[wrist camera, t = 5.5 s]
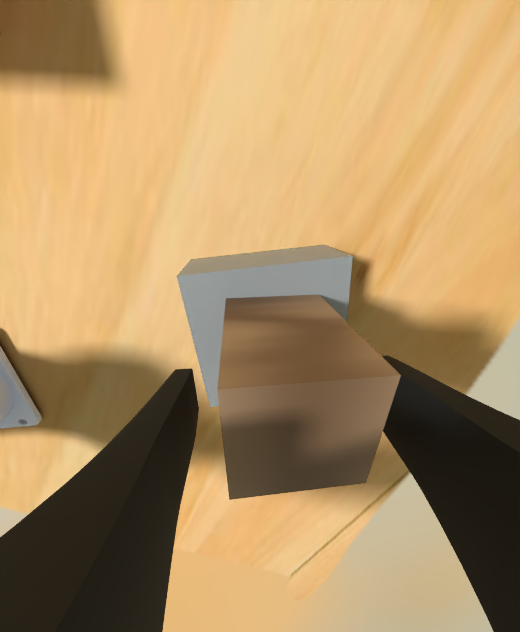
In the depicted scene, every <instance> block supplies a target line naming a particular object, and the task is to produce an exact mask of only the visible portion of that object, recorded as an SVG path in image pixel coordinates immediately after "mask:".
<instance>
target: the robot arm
mask: <svg viewBox="0 0 520 632" xmlns="http://www.w3.org/2000/svg"><path fill="white" fill-rule="evenodd" d="M382 357H383V358H384V359H385V360H386V361H387V362H388V363H389V364H390V365H391V366H392V367H393V368H394V369H395V370H396V371H397V372H398V373H399V374H400V375H401V377H400V380H399V383H398V386H397V389H396V392H395V395H394V398H393V401H392V404H391V407H390V410H389V413H388V417H387V420H386V423H385V426H384V429H383V432H384V433H385V435H386V436H387V438H388V439H389V441H390V442H391V444H392V445H393V447H394V448H395V450H396V451H397V453H398V454H399V456H400V457H401V459H402V460H403V462H404V463H405V465H406V466H407V468H408V469H409V471H410V472H411V474H412V475H413V477H414V479H415V480H416V482H417V483H418V485H419V487H420V488H421V490H422V491H423V493H424V495H425V497H426V499H427V501H428V502H429V504H430V506H431V508H432V510H433V511H434V513H435V515H436V517H437V519H438V520H439V522H440V524H441V526H442V528H443V530H444V532H445V534H446V536H447V538H448V539H449V541H450V543H451V545H452V547H453V549H454V551H455V553H456V555H457V557H458V559H459V561H460V562H461V564H462V566H463V568H464V570H465V572H466V575H467V577H468V579H469V581H470V583H471V585H472V587H473V589H474V591H475V593H476V595H477V597H478V599H479V601H480V603H481V605H482V607H483V610H484V612H485V614H486V616H487V618H488V620H489V622H490V624H491V627H492V629H493V631H494V632H520V420H518V419H516V418H513V417H511V416H509V415H506V414H504V413H502V412H500V411H498V410H496V409H494V408H491V407H489V406H487V405H485V404H483V403H481V402H479V401H477V400H474V399H472V398H471V397H468V396H467V395H464V394H462V393H460V392H458V391H456V390H455V389H453V388H451V387H449V386H447V385H445V384H443V383H441V382H439V381H437V380H435V379H433V378H431V377H429V376H428V375H426V374H424V373H422V372H420V371H418V370H416V369H414V368H412V367H410V366H408V365H406V364H404V363H402V362H400V361H398V360H396V359H394V358H392V357H390V356H382ZM198 410H199V407H198V401H197V395H196V389H195V383H194V377H193V370H192V369H177V370H175V371H174V372H173V373H172V374H171V375H170V376H169V378H168V379H167V380H166V381H165V382H164V384H163V385H162V386H161V387H160V388H159V390H158V391H157V392H156V393H155V394H154V395H153V397H152V398H151V399H150V400H149V401H148V402H147V403H146V404H145V406H144V407H143V408H142V409H141V410H140V411H139V412H138V413H137V415H136V416H135V417H134V418H133V419H132V420H131V421H130V422H129V423H128V424H127V425H126V426H125V427H124V428H123V429H122V430H121V431H120V432H119V433H118V434H117V436H116V437H115V438H114V439H113V440H112V441H111V442H110V443H109V444H108V445H107V446H106V447H105V448H104V449H103V450H102V451H100V452H99V453H98V454H97V455H96V456H95V457H94V458H93V459H92V460H91V461H90V462H89V463H88V464H87V465H86V466H85V467H83V468H82V469H81V470H80V471H79V472H78V473H77V474H76V475H75V476H74V477H72V478H71V479H70V480H69V481H68V482H67V483H66V484H64V485H63V486H62V487H61V488H60V489H59V490H57V491H56V492H55V493H54V494H53V495H51V496H50V497H49V498H48V499H47V500H45V501H44V502H43V503H42V504H41V505H39V506H38V507H37V508H36V509H35V510H33V511H32V512H31V513H30V514H29V515H27V516H26V517H25V518H24V519H23V520H21V522H19V523H18V524H17V525H15V526H14V527H13V528H12V529H10V530H9V531H8V532H7V533H5V534H4V535H3V536H2V537H0V632H162V630H163V622H164V614H165V606H166V599H167V591H168V583H169V576H170V568H171V561H172V554H173V547H174V540H175V533H176V526H177V520H178V514H179V509H180V504H181V500H182V495H183V491H184V486H185V482H186V477H187V473H188V468H189V464H190V459H191V455H192V450H193V446H194V441H195V436H196V429H197V420H198ZM41 420H42V417H41V415H40V413H39V411H38V410H37V408H36V406H35V405H34V403H33V401H32V399H31V398H30V396H29V394H28V393H27V391H26V389H25V387H24V386H23V384H22V382H21V381H20V379H19V377H18V375H17V374H16V372H15V370H14V369H13V367H12V365H11V364H10V362H9V360H8V358H7V357H6V355H5V353H4V352H3V350H2V348H1V346H0V429H1V428H12V427H24V426H34V425H37V424H39V422H40V421H41Z"/></svg>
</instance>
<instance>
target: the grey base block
mask: <svg viewBox="0 0 520 632" xmlns="http://www.w3.org/2000/svg"><path fill="white" fill-rule="evenodd" d="M352 259H353V256H351V255H349V254H346V253H344V252H341V251H339V250H336V249H333V248H331V247H328V246H326V245H317V246H308V247H299V248H290V249H281V250H272V251H262V252H253V253H244V254H235V255H226V256H217V257H208V258H199V259H191V260H190V261H189V262H188V264H187V265H186V266H185V267H184V268H183V269H182V271H181V272H180V273H179V274H178V275H177V279H178V283H179V287H180V290H181V294H182V298H183V302H184V306H185V310H186V314H187V318H188V322H189V326H190V330H191V334H192V337H193V341H194V345H195V349H196V353H197V357H198V361H199V365H200V369H201V373H202V377H203V380H204V384H205V388H206V392H207V396H208V400H209V404H210V407H216V406H219V400H218V390H217V388H218V378H219V367H220V356H221V345H222V334H223V324H224V313H225V302H226V298H245V297H269V296H294V295H320V296H321V297H322V298H323V299H324V300H325V301H326V302H327V303H328V304H329V305H330V306H331V307H332V308H333V309H334V310H335V311H336V312H337V313H338V314H339V315H340V316H341V317H342V318H343V319H344V320H345V321H346V322H347V315H348V304H349V293H350V282H351V271H352Z"/></svg>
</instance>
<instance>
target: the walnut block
mask: <svg viewBox="0 0 520 632" xmlns="http://www.w3.org/2000/svg"><path fill="white" fill-rule="evenodd" d="M400 377H401V375H400V374H399V373H398V372H397V371H396V370H395V369H394V368H393V367H392V366H391V365H390V364H389V363H388V362H387V361H386V360H385V359H384V358H383V357H382V356H381V355H380V354H379V353H378V352H377V351H376V350H375V349H374V348H373V347H372V346H371V345H370V344H369V343H368V342H367V341H366V340H365V339H364V338H363V337H362V336H361V335H360V334H359V333H357V332H356V331H355V330H354V329H353V328H352V327H351V326H350V325H349V324H348V323H347V322H346V321H345V320H344V319H343V318H342V317H341V316H340V315H339V314H338V313H337V312H336V311H335V310H334V309H333V308H332V307H331V306H330V305H329V304H328V303H327V302H326V301H325V300H324V299H323V298H322V297H321V296H320V295H294V296H269V297H245V298H226V302H225V313H224V324H223V334H222V345H221V356H220V367H219V378H218V388H217V390H218V400H219V409H220V418H221V427H222V436H223V445H224V454H225V463H226V472H227V481H228V490H229V499H239V498H247V497H255V496H263V495H271V494H279V493H287V492H296V491H304V490H312V489H320V488H328V487H336V486H344V485H353V484H361V483H366V481H367V478H368V475H369V472H370V469H371V465H372V462H373V459H374V456H375V453H376V450H377V447H378V444H379V441H380V438H381V435H382V432H383V429H384V426H385V423H386V420H387V417H388V413H389V410H390V407H391V404H392V401H393V398H394V395H395V392H396V389H397V386H398V383H399V380H400Z"/></svg>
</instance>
